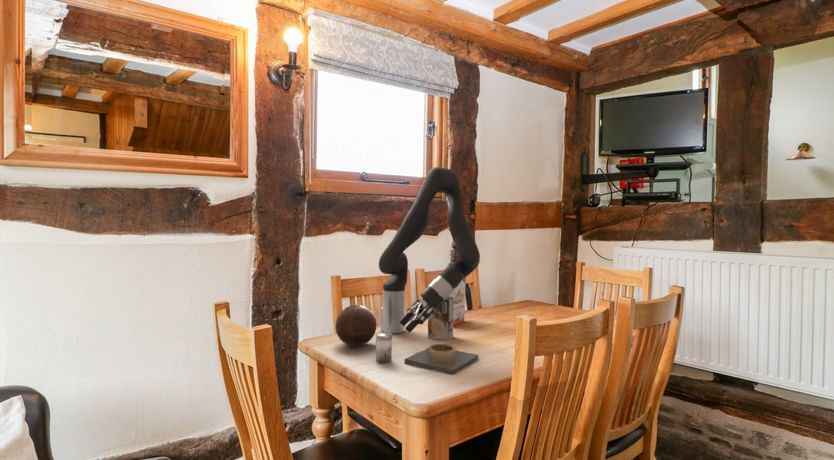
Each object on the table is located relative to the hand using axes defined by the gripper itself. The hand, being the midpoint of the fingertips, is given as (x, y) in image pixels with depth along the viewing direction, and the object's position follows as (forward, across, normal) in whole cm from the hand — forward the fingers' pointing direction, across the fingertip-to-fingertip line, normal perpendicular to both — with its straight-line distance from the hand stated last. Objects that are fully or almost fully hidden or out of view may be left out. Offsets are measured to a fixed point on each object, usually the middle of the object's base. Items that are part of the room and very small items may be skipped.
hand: (404, 327), depth 149 cm
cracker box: (-16, -44, +31) cm, 56 cm away
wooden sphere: (+17, -20, -2) cm, 26 cm away
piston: (+13, 0, +3) cm, 13 cm away
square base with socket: (-1, +4, +16) cm, 17 cm away
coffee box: (-7, -23, +22) cm, 33 cm away
